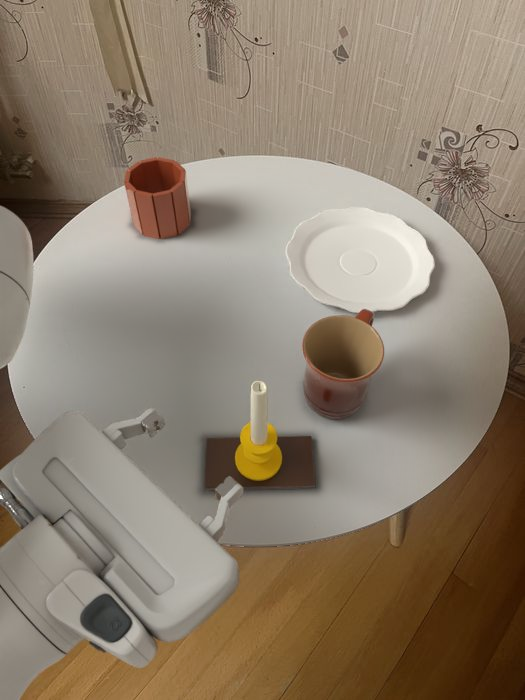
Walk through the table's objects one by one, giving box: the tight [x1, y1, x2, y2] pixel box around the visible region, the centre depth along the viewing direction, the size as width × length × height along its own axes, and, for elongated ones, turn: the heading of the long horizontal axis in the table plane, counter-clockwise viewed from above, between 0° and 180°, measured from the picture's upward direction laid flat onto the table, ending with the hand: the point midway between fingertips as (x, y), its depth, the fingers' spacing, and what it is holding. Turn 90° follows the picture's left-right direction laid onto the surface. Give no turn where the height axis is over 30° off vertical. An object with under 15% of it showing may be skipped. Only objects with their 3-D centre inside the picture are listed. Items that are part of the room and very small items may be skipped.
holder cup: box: [123, 156, 192, 240], centre depth 84 cm, size 9×9×8 cm
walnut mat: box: [204, 435, 316, 491], centre depth 63 cm, size 12×6×1 cm, turn 92°
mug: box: [301, 309, 385, 420], centre depth 65 cm, size 12×9×10 cm
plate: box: [284, 206, 436, 314], centre depth 81 cm, size 21×21×2 cm
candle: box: [235, 380, 282, 481], centre depth 57 cm, size 5×5×16 cm
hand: (196, 448), depth 48 cm, fingers open, 8 cm apart
